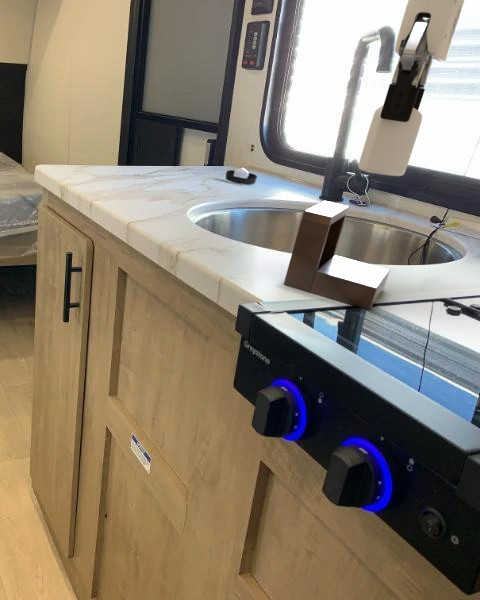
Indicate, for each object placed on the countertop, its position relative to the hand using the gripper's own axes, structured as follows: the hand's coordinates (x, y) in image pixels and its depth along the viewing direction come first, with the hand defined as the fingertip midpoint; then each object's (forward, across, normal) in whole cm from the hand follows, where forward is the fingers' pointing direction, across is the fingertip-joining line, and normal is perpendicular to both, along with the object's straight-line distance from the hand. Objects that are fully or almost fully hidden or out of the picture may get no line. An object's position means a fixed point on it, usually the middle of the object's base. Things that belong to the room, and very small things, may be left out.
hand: (397, 118), depth 74 cm
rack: (+23, -2, +1) cm, 23 cm away
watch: (+23, +64, +40) cm, 79 cm away
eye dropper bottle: (+7, 0, 0) cm, 7 cm away
